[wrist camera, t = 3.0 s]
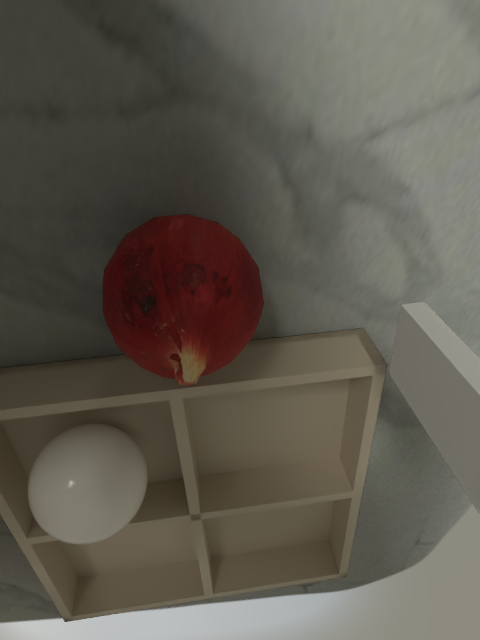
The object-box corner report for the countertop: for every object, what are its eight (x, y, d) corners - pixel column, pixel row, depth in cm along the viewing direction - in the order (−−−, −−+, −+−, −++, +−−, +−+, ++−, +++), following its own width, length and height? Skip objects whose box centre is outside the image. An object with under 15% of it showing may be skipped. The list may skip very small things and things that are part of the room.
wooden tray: (73, 576, 32) (65, 621, 29) (-31, 371, 21) (-59, 417, 18) (333, 536, 34) (346, 576, 31) (363, 328, 23) (387, 364, 20)
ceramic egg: (60, 476, 25) (34, 576, 20) (30, 407, 22) (-9, 506, 17) (157, 463, 26) (153, 558, 21) (141, 394, 22) (132, 487, 18)
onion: (85, 237, 18) (34, 354, 11) (200, 160, 17) (217, 240, 10) (167, 330, 21) (165, 465, 14) (269, 270, 20) (317, 386, 13)
